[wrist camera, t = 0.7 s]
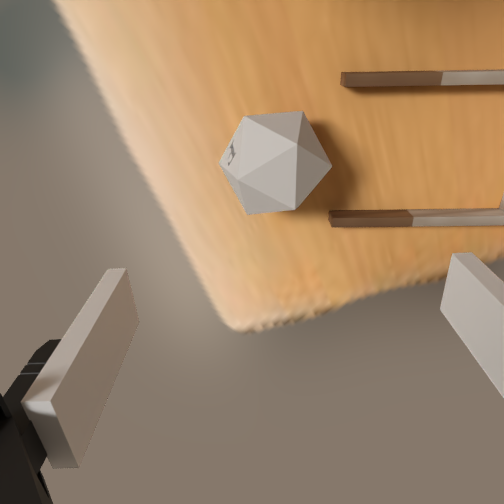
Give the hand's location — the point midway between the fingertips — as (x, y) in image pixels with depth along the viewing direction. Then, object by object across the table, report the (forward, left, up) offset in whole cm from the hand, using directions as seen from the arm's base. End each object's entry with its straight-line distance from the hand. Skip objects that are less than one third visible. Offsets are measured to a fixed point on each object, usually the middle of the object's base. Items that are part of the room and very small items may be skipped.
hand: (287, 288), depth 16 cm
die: (0, 0, -24) cm, 24 cm away
